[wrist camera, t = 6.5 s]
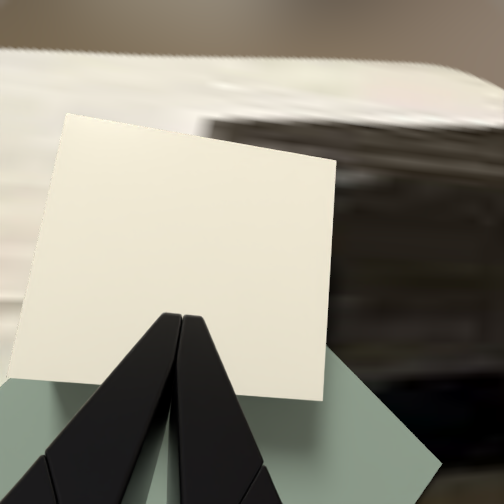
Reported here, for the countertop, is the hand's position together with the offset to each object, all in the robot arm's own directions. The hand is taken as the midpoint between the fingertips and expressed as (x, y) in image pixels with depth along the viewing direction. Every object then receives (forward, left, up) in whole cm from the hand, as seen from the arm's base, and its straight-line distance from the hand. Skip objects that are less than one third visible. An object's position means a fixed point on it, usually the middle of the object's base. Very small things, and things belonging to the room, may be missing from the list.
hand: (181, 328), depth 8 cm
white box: (-1, +1, -5) cm, 5 cm away
